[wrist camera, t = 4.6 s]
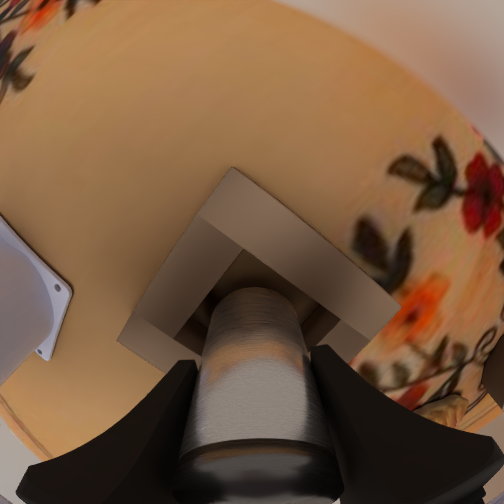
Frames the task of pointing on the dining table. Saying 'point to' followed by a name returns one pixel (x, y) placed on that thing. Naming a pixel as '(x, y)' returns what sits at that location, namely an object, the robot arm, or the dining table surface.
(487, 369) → the beer bottle
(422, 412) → the pastry
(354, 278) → the eye block
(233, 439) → the steel pin
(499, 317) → the dining table surface
